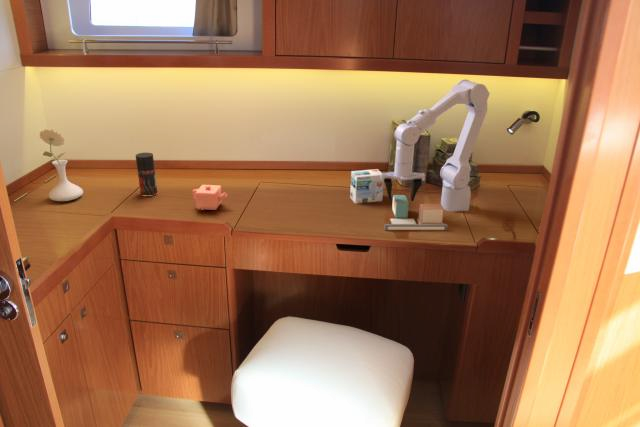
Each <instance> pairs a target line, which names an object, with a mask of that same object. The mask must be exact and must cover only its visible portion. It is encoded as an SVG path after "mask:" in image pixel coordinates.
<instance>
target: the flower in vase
mask: <svg viewBox="0 0 640 427" xmlns="http://www.w3.org/2000/svg"><path fill="white" fill-rule="evenodd" d="M39 138H40V139H41V140H42V141H43V142H44V143H46V144H48V145H49V151H44V152H43V154H42V156H46V157H49V158H54V159H55V160H53V161H51V164H52V165H53V166H54V167H55V168H56V171H57V174H58V177H59V180H58V184H56V185H55V186H54V187H53V188H52V189H51V190H50V192H49V193H48V198H49V199H50V200H51V201H55V202H68V201H69V202H70V201H72V200H73V201H74V200H77V199H78V198H79V197H81V196H82V195H83V194H84V190H83V188H81V187H80V186H79V185H77V184H74V183H73V182H70V181H69V180H68V178H67V173H66V166H67V163H68V162H69V160H67V159H59V158H61V157H62V156H63V155H64V154H65V152H62V153H59V155H57V157H56V156H55V155H54V153H53V151H52V146H53V147H59V146H63V145H64V144H65V139H64V137H63V136H62V134H61V133H59V132H58V131H54V130H53V129H50V130H49V129H43V130H42V131H39Z"/></svg>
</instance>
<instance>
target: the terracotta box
mask: <svg viewBox="0 0 640 427" xmlns="http://www.w3.org/2000/svg"><path fill="white" fill-rule="evenodd" d="M418 211H419V212H418V218H417V219H419V221H420V223H421V224H442V222H444V221H443V220H444V214H445V213H444V211H445V210H444V208H443V206H442V205H441V203H420V204H419V210H418Z"/></svg>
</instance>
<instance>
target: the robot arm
mask: <svg viewBox="0 0 640 427" xmlns="http://www.w3.org/2000/svg"><path fill="white" fill-rule="evenodd" d="M490 95H491V94H490V91H489V90H488V88H487V86H486V85H485V84H482V83H478V82H475V81H471V80H469V79H461V80H460V81H459V82H458V83H457V84H454V85H452V88H451V89H450V91H449V92H448V93H447V94H445V95H444V96H443V97H442V98H441V99H440V100H439V101H437V102H436V103H435V104H434V105H433V106H432V107H430V108H429V109H427V108H424V109H423V110H422V109H420V110H418V111H417V114H416V115H414V117H412V118H411V119H408V120H406V123H402V124H401V123H400V124H399V125H398V126H397V127H396V129H395V131H394V132H393V135H394V137H395V140H396V148H395V160H394V171H389V172H381V175H380V179H381V180H384V185H385V186H384V187H385V188H386V191H387V192H386V193H387V200H388V202H390V201H391V200H392V189H393V181H394V180H395V181H396V180H397V181H407V180H408V181H411V191H410V201H411V202H413V201H414V200H415V197H416V195H417V193H418V191H419V189H420V188H421V186H422V185H423V182H422V181H425V180H426V174H425V173H424V172H413V166H414V165H413V163H414V154H415V144H416V143H417V142H418V141H419V139H420V136H421V135H422V134H423V133H424V132H425V131H427V130H428V129H430V128H431V127H433V126H434V124H436V121H437V118H438V117H440V116H441V115H443V114H444V113H445V112H447V111H448V110H449V109H452V107H454V106H456V105H458V104H459V105H460V104H461V105H465V107H466V109H467V111H468V113H467V115H466V118H465V120H464V123H463V126H462V129H461V132H460V135H459V137H458V140H457V143H456V145H455V149H454V152H453V154H452V156H450V157H449V158H447V159H446V161H445V164H443V166H442V167H441V169H440V172H439V176H440V178H441V179H442V190H441V198H440V204H441V205H442V206H443V208H444V211H447V212H453V213H454V212H468V211H469V209H470V203H471V197H472V194H471V193H472V191H471V186H470V185H469V183H470V179H471V177H470V175H471V171H472V167H471V166H470V162H469V160H470V158H471V156H472V153H473V149H474V147H475V145H476V143H477V139H478V136H479V134H480V131H481V128H482V126H483V122H484V120H485V117H486V115H487V114H488V113H487V112H488V99H489V96H490ZM392 180H393V181H392Z"/></svg>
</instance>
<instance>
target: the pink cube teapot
mask: <svg viewBox="0 0 640 427" xmlns="http://www.w3.org/2000/svg"><path fill="white" fill-rule="evenodd" d="M226 197H228V193H227V192H225V191H224V192H223V193H222V186H221V185H217V184H216V185H215V184H214V185H213V184H201V186H200V187H199V188H196V189H192V199H193V200H195V203H196V204H195V205H196V206H195V207H196V210H200V209H205V210H207V211H208V210H209V211H211V210H216V211H217V209H218V208H219V206H220V205H221V203H223V202H222V201H223V199H225V198H226ZM205 210H204V211H205Z"/></svg>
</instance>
